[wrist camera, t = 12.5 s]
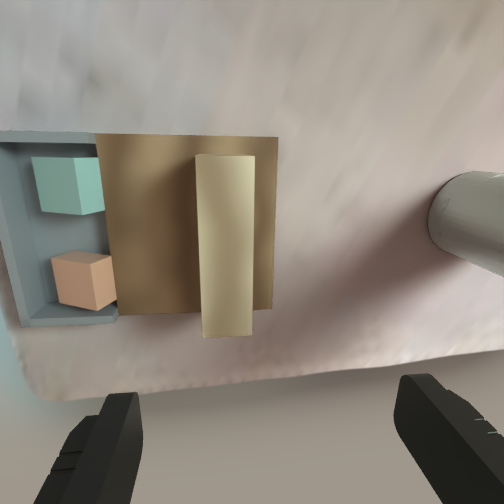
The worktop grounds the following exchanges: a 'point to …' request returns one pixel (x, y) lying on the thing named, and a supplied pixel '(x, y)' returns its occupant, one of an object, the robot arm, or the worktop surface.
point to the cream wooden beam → (226, 242)
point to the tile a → (69, 184)
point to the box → (45, 229)
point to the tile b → (84, 279)
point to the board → (175, 217)
